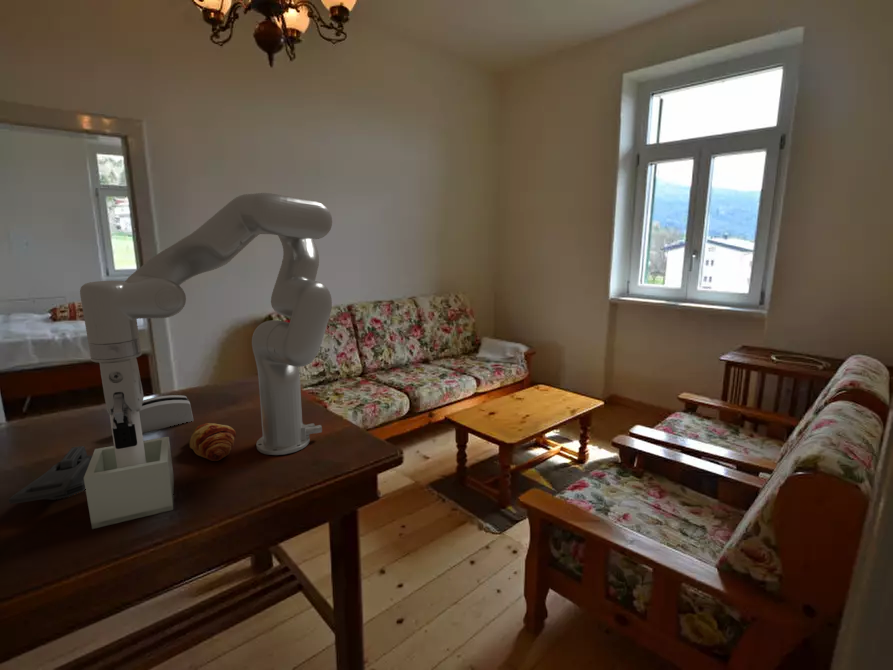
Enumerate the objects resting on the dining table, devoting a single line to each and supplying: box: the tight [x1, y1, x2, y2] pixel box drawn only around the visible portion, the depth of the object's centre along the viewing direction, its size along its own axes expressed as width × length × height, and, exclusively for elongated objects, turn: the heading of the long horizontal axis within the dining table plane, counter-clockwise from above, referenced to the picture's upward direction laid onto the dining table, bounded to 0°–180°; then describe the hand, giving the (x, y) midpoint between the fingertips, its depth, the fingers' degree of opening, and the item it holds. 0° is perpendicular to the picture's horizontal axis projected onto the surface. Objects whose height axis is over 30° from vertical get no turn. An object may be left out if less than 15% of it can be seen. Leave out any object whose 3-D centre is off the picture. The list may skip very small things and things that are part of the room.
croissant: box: [189, 422, 237, 462], centre depth 112 cm, size 21×10×8 cm, turn 35°
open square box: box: [84, 436, 175, 530], centre depth 88 cm, size 12×12×10 cm
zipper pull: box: [8, 445, 93, 505], centre depth 91 cm, size 9×7×25 cm
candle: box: [108, 399, 146, 469], centre depth 85 cm, size 7×7×25 cm
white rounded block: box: [139, 394, 194, 434], centre depth 122 cm, size 17×5×10 cm, turn 132°
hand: (129, 436), depth 86 cm, fingers open, 9 cm apart
